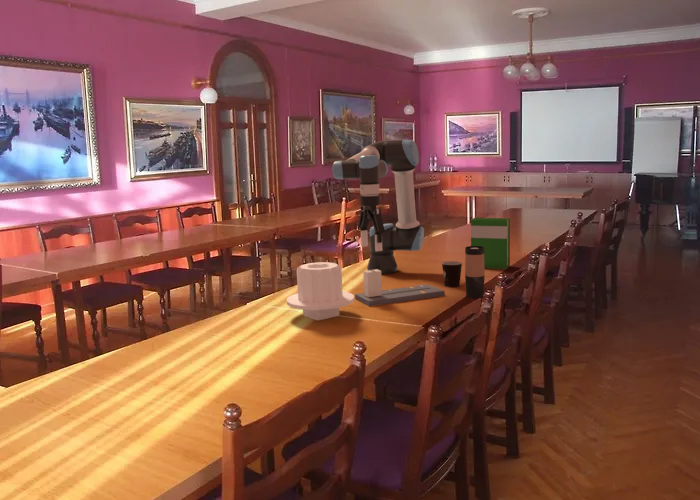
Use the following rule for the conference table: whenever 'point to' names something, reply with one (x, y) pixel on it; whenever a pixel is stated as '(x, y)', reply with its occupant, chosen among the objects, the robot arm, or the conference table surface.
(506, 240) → the hardback book
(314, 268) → the ribbed cylinder on disc
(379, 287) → the fader tab
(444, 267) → the coffee mug
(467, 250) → the travel mug
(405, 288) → the fader console
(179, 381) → the conference table surface
